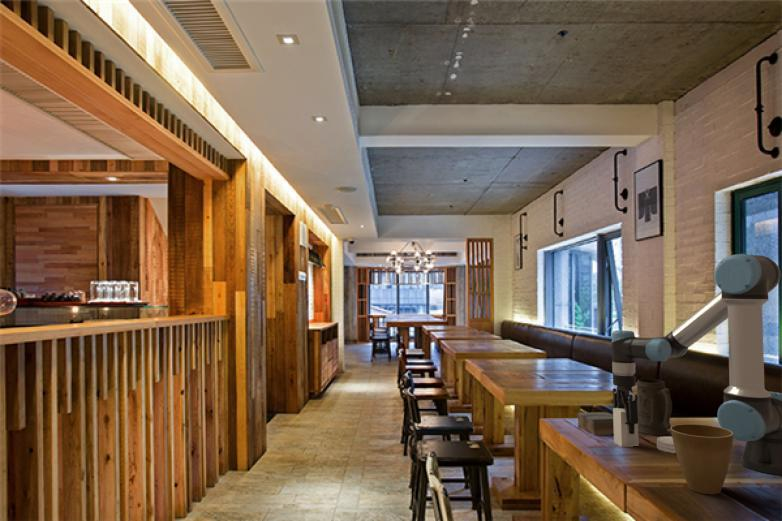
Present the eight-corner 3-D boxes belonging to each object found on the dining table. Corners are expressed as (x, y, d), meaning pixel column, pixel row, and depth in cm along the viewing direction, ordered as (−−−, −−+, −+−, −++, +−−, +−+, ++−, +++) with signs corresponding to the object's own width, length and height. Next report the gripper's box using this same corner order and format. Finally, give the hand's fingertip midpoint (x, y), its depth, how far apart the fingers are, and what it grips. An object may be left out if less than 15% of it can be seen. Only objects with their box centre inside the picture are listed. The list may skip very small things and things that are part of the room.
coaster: (656, 452, 181) (656, 441, 181) (657, 444, 189) (657, 434, 190) (690, 456, 176) (690, 445, 176) (689, 448, 185) (689, 438, 185)
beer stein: (629, 429, 209) (630, 378, 209) (648, 426, 214) (649, 376, 214) (663, 442, 195) (665, 387, 195) (683, 438, 200) (684, 385, 200)
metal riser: (623, 434, 203) (623, 418, 203) (594, 436, 201) (593, 420, 202) (606, 427, 215) (605, 411, 215) (578, 428, 213) (577, 413, 213)
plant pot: (712, 479, 153) (710, 422, 154) (749, 499, 138) (746, 436, 139) (661, 480, 152) (659, 423, 153) (692, 500, 138) (690, 437, 139)
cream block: (638, 446, 186) (637, 411, 187) (621, 446, 186) (620, 411, 187) (630, 441, 192) (629, 407, 193) (613, 442, 192) (613, 408, 193)
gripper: (648, 378, 181) (650, 447, 180) (621, 370, 200) (623, 433, 199) (626, 378, 181) (628, 448, 180) (602, 370, 200) (603, 433, 199)
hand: (626, 440), depth 189 cm, fingers closed on cream block, 6 cm apart
